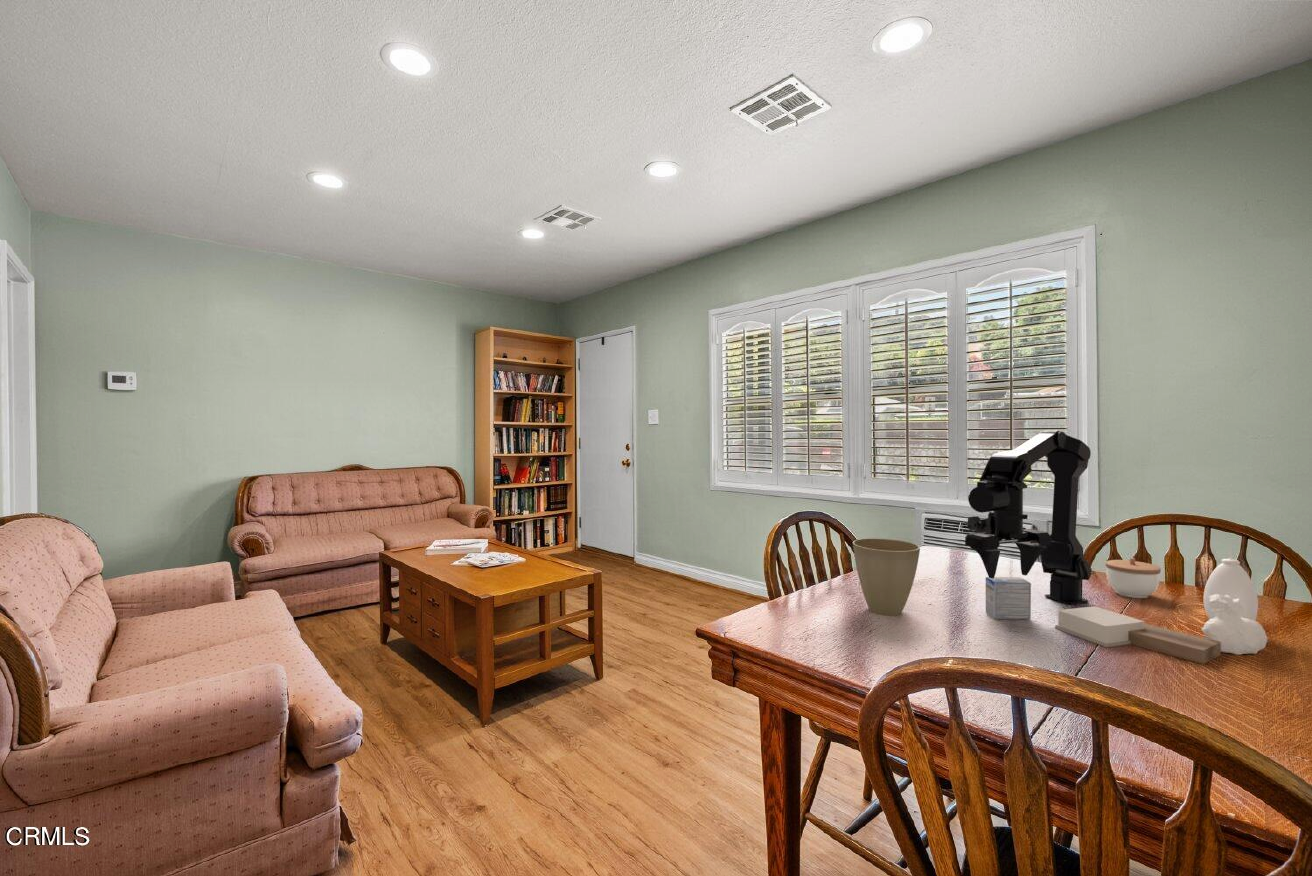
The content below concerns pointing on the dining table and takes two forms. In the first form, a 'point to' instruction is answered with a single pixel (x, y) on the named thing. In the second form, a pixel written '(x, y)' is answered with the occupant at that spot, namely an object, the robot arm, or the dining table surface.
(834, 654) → the dining table surface
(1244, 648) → the duck figurine
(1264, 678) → the dining table surface
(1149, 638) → the grey-brown long grooved block
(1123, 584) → the lidded jar
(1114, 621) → the block
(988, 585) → the medicine box
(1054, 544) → the robot arm
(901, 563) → the plant pot
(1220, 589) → the sauce bottle
